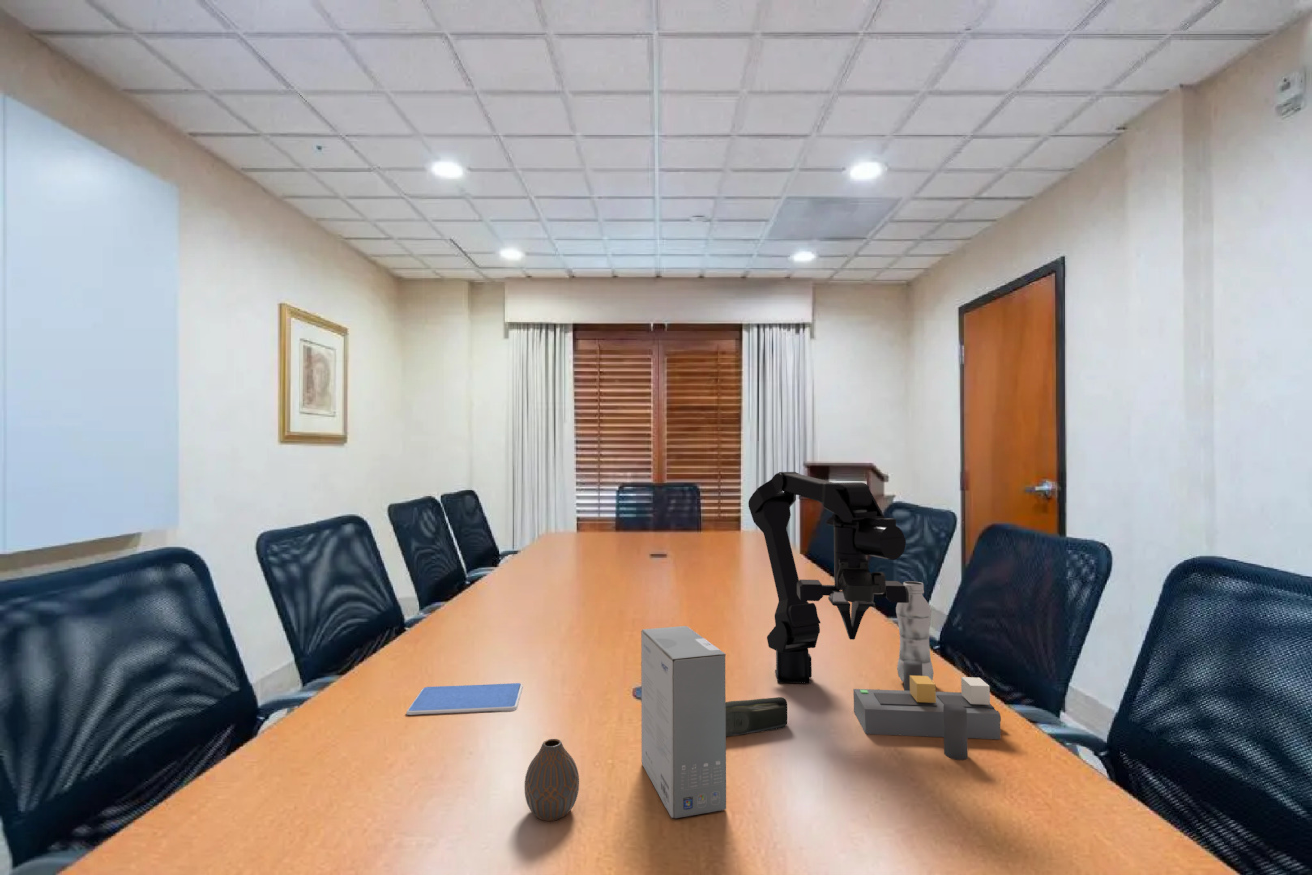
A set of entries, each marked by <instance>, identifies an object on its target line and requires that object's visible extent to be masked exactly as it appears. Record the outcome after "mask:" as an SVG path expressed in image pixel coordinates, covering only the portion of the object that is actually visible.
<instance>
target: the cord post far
mask: <svg viewBox="0 0 1312 875" xmlns="http://www.w3.org/2000/svg"><path fill="white" fill-rule="evenodd" d="M910 675H911V676H922V663H921V662H918V661H914V660H906V661H904V682H903V691H910Z"/></svg>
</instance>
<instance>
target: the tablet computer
mask: <svg viewBox="0 0 1312 875" xmlns="http://www.w3.org/2000/svg"><path fill="white" fill-rule="evenodd" d="M523 689H524V686H523V683H520V682H515V683H514V682H513V683H492V684H491V683H490V684H471V685H470V684H468V685H466V684H465V685H442V686H426V687H423V688H422V689H421V691H420V692H419V693H418V694H417V696H416V698H414V700H413V702H412V703H411V704H410V706H409V707H408V709H407V710H406V713H405V714H406V715H408V716H413V715H414V716H415V715H441V714H443V715H444V714H460V713H461V714H462V713H463V714H464V713H484V712H487V713H488V712H512V711H514V712H515V711H517V710H518V707H519V703H520V699H521V695H522V693H523Z"/></svg>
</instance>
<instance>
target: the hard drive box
mask: <svg viewBox="0 0 1312 875" xmlns="http://www.w3.org/2000/svg"><path fill="white" fill-rule="evenodd" d="M640 632H641V638H640V639H641V641H640V642H641V664H640V665H641V668H640V669H641V670H640V671H641V680H640V681H641V685H640V686H641V690H640V691H641V765H642V766H643V768H644V770H645V772H646V774H647V776H648V778H649V779H650V781H651V783H652V785H653V787H654V789H655V790H656V793H657V795H659V798H660V801H661V802H662V805H663V806H664V807H665V809H666V811H667V813H668V815H669V816H670V818H671V819H680V818H685V817H691V816H696V815H702V814H709V813H715V812H720V811H726V810H727V749H726V748H727V736H726V702H727V701H726V655H727V654H726V653H725V652H724V651H722V650H721V649H720V648H718V647H717V646H716V645H715V644H713V643H711V642H710V641H709V640H707V639H706V638H705V637H703V636H702V635H700V634H698V633H697V632H696V631H694V629H692V628H690V627H689V626H687V625H682V626H681V625H680V626H668V627H667V626H666V627H655V628H644V629H643V628H642V629H641V631H640Z"/></svg>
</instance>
